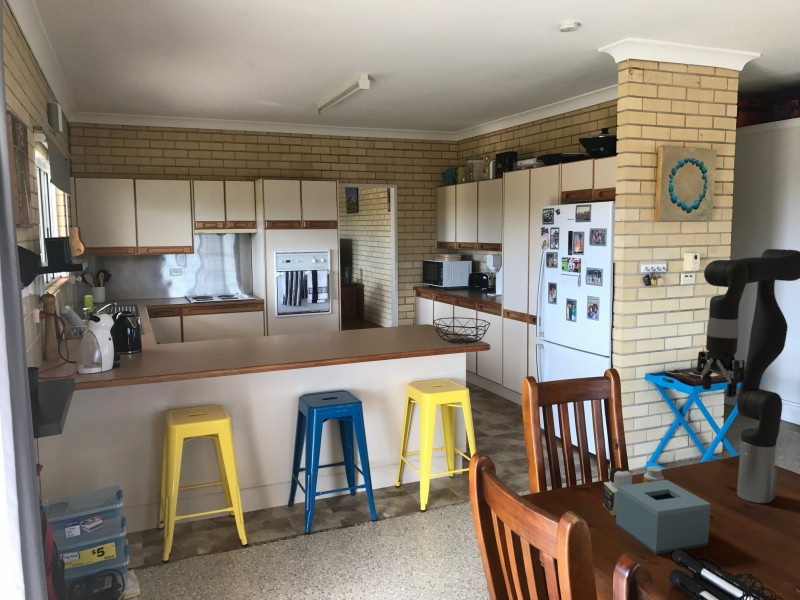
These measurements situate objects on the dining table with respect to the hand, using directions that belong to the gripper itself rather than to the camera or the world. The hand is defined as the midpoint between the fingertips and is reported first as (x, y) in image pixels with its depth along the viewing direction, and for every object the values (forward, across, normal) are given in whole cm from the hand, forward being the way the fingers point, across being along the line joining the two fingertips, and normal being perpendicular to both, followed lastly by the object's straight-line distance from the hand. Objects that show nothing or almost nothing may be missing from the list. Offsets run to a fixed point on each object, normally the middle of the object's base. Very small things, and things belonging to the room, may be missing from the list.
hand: (718, 393), depth 172 cm
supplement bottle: (+36, +14, +8) cm, 40 cm away
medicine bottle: (+36, +12, +21) cm, 44 cm away
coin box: (+36, -4, +20) cm, 41 cm away
